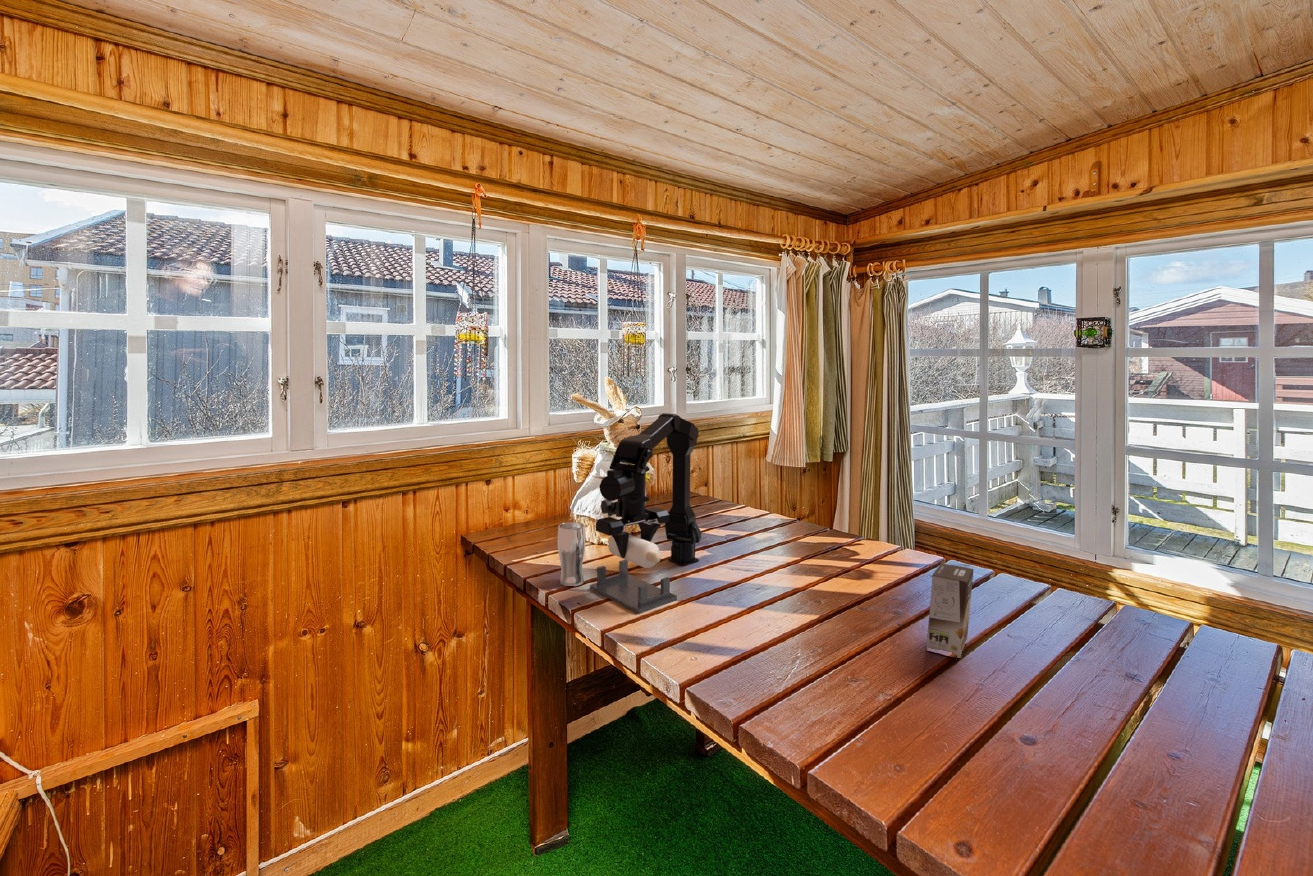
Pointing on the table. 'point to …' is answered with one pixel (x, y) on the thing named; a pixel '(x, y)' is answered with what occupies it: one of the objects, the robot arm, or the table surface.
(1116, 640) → the table surface
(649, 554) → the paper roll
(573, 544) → the beer glass
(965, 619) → the coffee box
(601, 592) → the roll stand
